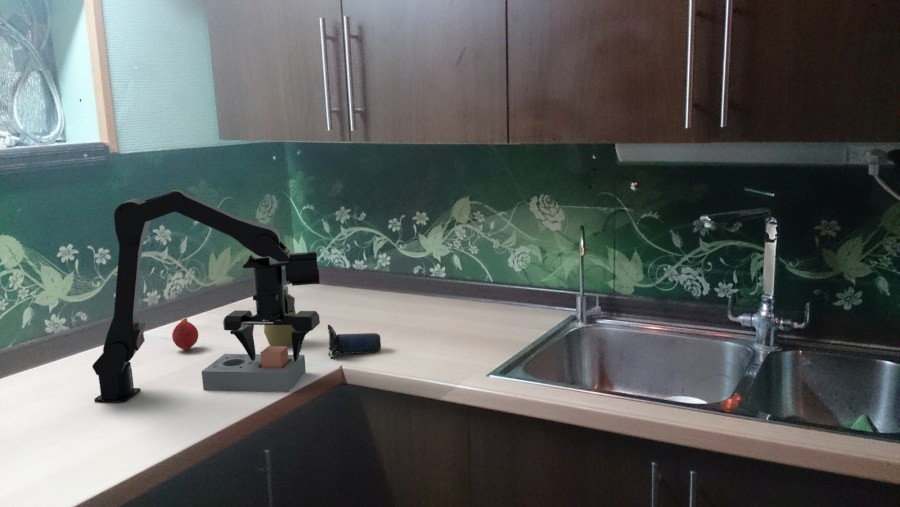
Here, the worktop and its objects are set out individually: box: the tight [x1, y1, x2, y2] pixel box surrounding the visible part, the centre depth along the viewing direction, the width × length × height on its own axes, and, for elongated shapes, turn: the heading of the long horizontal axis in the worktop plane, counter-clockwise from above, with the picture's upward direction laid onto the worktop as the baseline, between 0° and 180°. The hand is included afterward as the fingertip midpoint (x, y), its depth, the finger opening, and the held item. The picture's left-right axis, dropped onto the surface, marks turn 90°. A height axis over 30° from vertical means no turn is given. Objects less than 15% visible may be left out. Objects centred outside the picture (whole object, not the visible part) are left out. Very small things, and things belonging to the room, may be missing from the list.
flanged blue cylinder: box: [327, 324, 382, 360], centre depth 173 cm, size 9×8×12 cm
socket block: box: [201, 353, 307, 393], centre depth 157 cm, size 11×18×4 cm, turn 82°
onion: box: [171, 317, 199, 351], centre depth 179 cm, size 6×6×8 cm
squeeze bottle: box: [263, 284, 297, 348], centre depth 179 cm, size 8×8×18 cm
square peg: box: [260, 345, 289, 368], centre depth 156 cm, size 4×4×7 cm
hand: (274, 360), depth 156 cm, fingers open, 9 cm apart
